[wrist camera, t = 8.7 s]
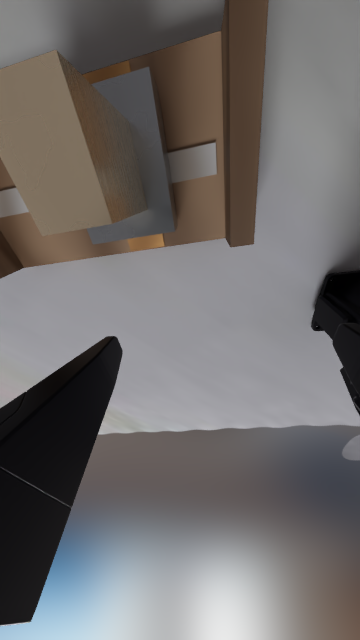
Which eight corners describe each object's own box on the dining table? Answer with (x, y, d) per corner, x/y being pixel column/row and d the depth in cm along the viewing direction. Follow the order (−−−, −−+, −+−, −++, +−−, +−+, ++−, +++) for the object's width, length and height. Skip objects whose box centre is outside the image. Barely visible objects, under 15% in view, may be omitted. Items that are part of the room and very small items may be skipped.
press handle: (158, 89, 11) (83, -98, 4) (178, 225, 14) (160, 258, 8) (63, 116, 11) (-138, 6, 5) (106, 237, 15) (32, 276, 8)
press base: (245, 40, 11) (270, -40, 7) (240, 231, 16) (253, 244, 12) (-61, 133, 14) (-154, 112, 10) (22, 264, 19) (-19, 282, 16)
